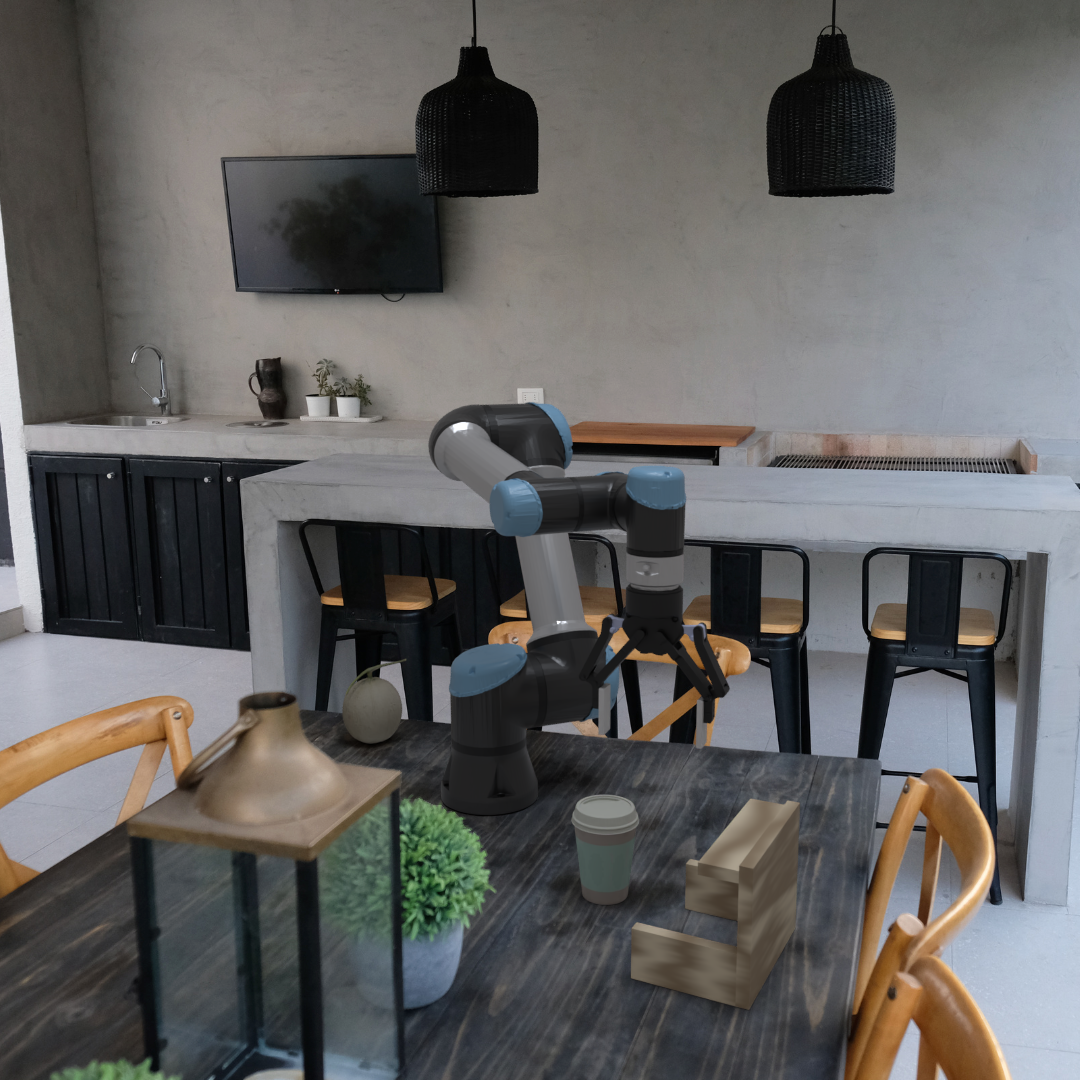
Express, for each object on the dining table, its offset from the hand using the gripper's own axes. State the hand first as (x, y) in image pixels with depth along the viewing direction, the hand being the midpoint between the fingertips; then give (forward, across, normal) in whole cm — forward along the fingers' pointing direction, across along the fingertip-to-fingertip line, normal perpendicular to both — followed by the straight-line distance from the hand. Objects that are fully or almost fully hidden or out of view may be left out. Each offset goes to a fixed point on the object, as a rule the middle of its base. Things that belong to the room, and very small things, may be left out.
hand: (651, 738), depth 152 cm
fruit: (+18, -59, +25) cm, 67 cm away
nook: (+17, +15, -21) cm, 31 cm away
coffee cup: (+17, -2, -12) cm, 21 cm away
